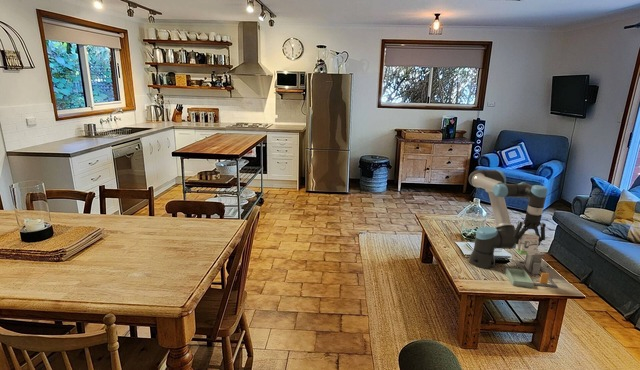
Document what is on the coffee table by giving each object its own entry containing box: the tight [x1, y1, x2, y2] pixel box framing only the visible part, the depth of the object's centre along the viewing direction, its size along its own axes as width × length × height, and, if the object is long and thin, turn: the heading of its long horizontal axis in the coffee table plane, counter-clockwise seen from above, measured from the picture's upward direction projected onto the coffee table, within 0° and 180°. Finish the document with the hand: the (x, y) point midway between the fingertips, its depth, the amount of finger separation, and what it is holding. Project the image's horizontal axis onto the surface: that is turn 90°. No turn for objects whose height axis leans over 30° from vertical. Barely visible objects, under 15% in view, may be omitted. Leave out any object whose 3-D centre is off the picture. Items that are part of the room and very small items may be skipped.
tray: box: [504, 267, 535, 288], centre depth 212 cm, size 11×15×3 cm
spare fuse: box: [523, 248, 543, 273], centre depth 223 cm, size 5×9×12 cm, turn 170°
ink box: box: [515, 231, 539, 256], centre depth 206 cm, size 9×5×12 cm, turn 91°
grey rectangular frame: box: [514, 257, 558, 288], centre depth 218 cm, size 14×28×7 cm, turn 170°
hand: (525, 249), depth 207 cm, fingers closed on ink box, 9 cm apart
